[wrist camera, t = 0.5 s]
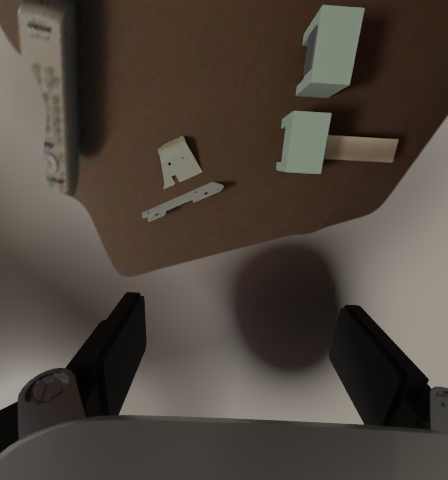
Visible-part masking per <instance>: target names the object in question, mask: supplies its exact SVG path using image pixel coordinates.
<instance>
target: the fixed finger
mask: <svg viewBox="0 0 448 480" xmlns="http://www.w3.org/2000/svg"><path fill="white" fill-rule="evenodd" d="M331 114H332V113H321V112H305V111H293V112H292V113H290V114H289V115H287V116H286V117H285V118H283V119H282V125H281V128H282V129H285V137H284V145H283V153H282V161H281V162H277V166H276V170H278V171H283V172H294V173H311V174H321V170H322V164H323V162H324V157H325V151H326V146H327V140H328V135H329V129H330V128H329V125H330V120H331Z"/></svg>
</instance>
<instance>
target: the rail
mask: <svg viewBox="0 0 448 480" xmlns="http://www.w3.org/2000/svg"><path fill="white" fill-rule="evenodd" d="M398 141H399V139H384V138H367V137H350V136H334V135H328V140H327V146H326V151H325V157H324V159H333V160H350V161H367V162H393V159H394V155H395V152H396V148H397V144H398Z"/></svg>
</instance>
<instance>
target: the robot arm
mask: <svg viewBox="0 0 448 480" xmlns="http://www.w3.org/2000/svg"><path fill="white" fill-rule="evenodd" d="M145 349H146V323H145V302H144V296H141V295H140V293H134V292H127V293H126V294H125V295H124V296H123V298H122V299H121V300H120V302H119V303H118V304H117V306H116V307H115V309H114V310H113V311H112V313H111V314H110V315H109V317H108V318H107V320H103V321H101V322H100V323H99V324H98V326H97V327H96V329H95V330H94V331H93V333H92V334H91V335H90V336H89V338H88V339H87V340H86V342H85V343H84V344H83V346H82V347H81V348H80V350H79V351H78V352H77V354H76V355H75V356H74V357H73V359H72V360H71V361H70V363H69V364H68V365H67V367H66V368H56V369H51V370H48V371H45V372H43V373H41V374H39V375H37V376H36V377H34V378H33V379H32V380H30V381H29V382H28V383H27V384H26V385H25V386H24V387H23V388H22V390H21V392H20V393H19V397H18V402H16V403H14V404H12V405H10V406H8V407H6V408H4V409H2V410H0V480H448V388H444V387H434V388H432V389H431V388H430V386H429V385H428V384H427V383H428V381H429V379H428V378H427V377H426V376H425V375H424V374H423V373H422V372H421V371H420V370H419V368H417V366H416V365H415V364H414V363H413V362H412V361H411V360H410V359H409V358H408V357H407V356H406V355H405V353H404V352H403V351H402V350H401V349H400V348H399V347H398V346H397V345H396V344H395V343H394V342H393V341H392V340H391V339H390V337H388V335H387V334H386V333H385V332H384V331H383V330H382V329H381V328H380V327H379V326H378V325H377V324H376V323H375V321H374V320H373V319H371V317H370V316H369V315H368V314H367V313H366V312H365V311H364V310H363V309H362V308H361V307H360V306H357V305H345V306H344V308H341V310H340V313H339V317H338V321H337V324H336V328H335V332H334V336H333V339H332V343H331V347H330V350H329V358H330V361H331V363H332V364H333V366H334V368H335V370H336V372H337V374H338V376H339V378H340V380H341V381H342V383H343V385H344V387H345V389H346V391H347V393H348V395H349V396H350V398H351V400H352V402H353V404H354V406H355V408H356V409H357V411H358V413H359V415H360V417H361V419H362V421H363V423H364V425H358V424H338V423H318V422H298V421H277V420H254V419H253V420H252V419H231V418H205V417H204V418H203V417H179V416H141V415H119V412H120V410H121V407H122V405H123V403H124V400H125V398H126V396H127V393H128V391H129V388H130V386H131V383H132V381H133V378H134V376H135V373H136V371H137V369H138V366H139V364H140V361H141V359H142V356H143V354H144V352H145Z"/></svg>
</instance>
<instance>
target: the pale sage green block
mask: <svg viewBox="0 0 448 480" xmlns="http://www.w3.org/2000/svg"><path fill="white" fill-rule="evenodd" d="M364 9H365V8H357V7H343V6H329V5H322V7H321V8H320V10H319V11H318V13H317V15H316V16H315V18H314V19H313V21H312V22H311V24H310V26H309V27H308V29H307V30H306V32H305V33H304V38H303V45H304V46H307V51H306V58H305V65H304V73H303V75H304V79H303V80H302V81H301V82H300V84H299V85H298V86H297V90H296V96H304V97H320V98H329V97H330V96H332V95H334V94H335V93H337V92H339V91H340V90H342V89H344V88H345V87H347V86H349V85H350V81H351V76H352V71H353V66H354V61H355V55H356V50H357V45H358V40H359V35H360V30H361V25H362V20H363V15H364Z"/></svg>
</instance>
